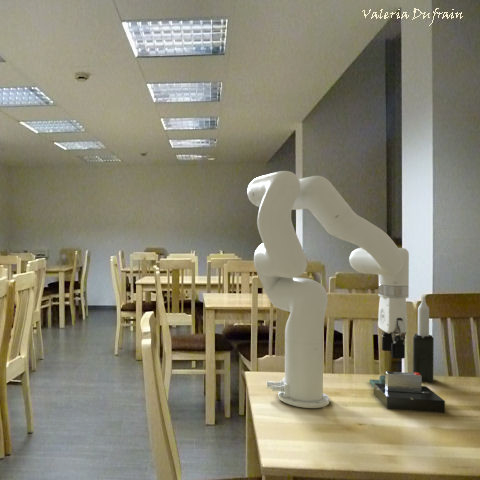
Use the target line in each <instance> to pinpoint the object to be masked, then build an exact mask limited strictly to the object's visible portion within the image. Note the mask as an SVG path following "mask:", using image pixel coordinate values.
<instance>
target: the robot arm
mask: <svg viewBox="0 0 480 480" xmlns="http://www.w3.org/2000/svg"><path fill="white" fill-rule="evenodd" d="M246 193H247V198H248V200H249V201H250V203H251V204H252V205H253V206H256V207H257V208H259V209H258V213H257V219H256V224H257V230H258V233H259V236H260V238H261V242H262V243H261V244H259V245H258V247H256V249H255V251H254V255H253V265H254V269H255V272H256V274H257V276H258V278H259V281H260V283H261V285H262V287H263V290H264V292H265V294H266V296H267V298H268V300H269V302H270V303H271V304H272V305H273V306H274V307H275V308H277V309H279V310H282V311H285V312H289V315H288V318H287V320H286V324H285V327H284V377H282V380H278V381H271V380H266V389H269V390H271V392H278V399H279V400H280V401H281V402H283V403H285V404H287V405H289V406H292V407H297V408H303V409H320V408H325V407H326V406H328V405H329V404H330V397H329V396H328V394H326V393H324V329H325V328H324V327H325V326H324V325H325V318H326V312H327V308H328V304H329V303H328V301H329V300H328V299H329V297H328V293H327V290H326V288H325V287H324V285H322V284H321V283H320V282H319V281H316V280H314V279H311V278H305V277H300V276H302V275H304V273H305V272H306V271H307V267H308V259H307V256H306V253H305V251H304V249H303V247H302V244H301V241H300V240H299V239H300V238H299V237H298V235H297V232H296V229H295V227H294V224H293V220H292V210H295V211H298V210H308V211H309V212H310V213H311V215H313V217H314V218H315V219H316V220H317V221H318V223H319V224H320V225H321V226H322V228H324V230H325V231H326V232H327V233H328V234H329V235H331V236H332V237H334V238H337V239H339V240H341V241H344V242H348V243H351V244H353V245H356V246H357V248H354V250H353V251H351V253H350V255H349V258H348V260H349V265H350V267H351V268H352V269H353V270H354V271H356V272H358V273H360V274H366V275H377V276H378V292H377V293H378V294H377V295H378V297H379V303H378V314H377V315H378V316H377V327H378V328H379V329H380V330H382V331H381V350H382V352H383V351H384V352H391V358H392V359H405V358H406V335H407V332H408V309H407V299H409V295H410V292H409V291H410V289H409V288H410V287H409V283H410V282H409V281H410V269H409V268H410V267H409V266H410V254H409V250H408V249H407V248H404V247H398V245H397V244H396V243H395V242H394V240H393V239H392V238H391V236H389V234H388V233H386V232H385V231H384V230H383V229H381V228H380V227H379V226H377V225H375V224H374V223H372V222H370V221H369V220H367V219H366V218H364V217H362V216H360V215H358V214H357V213H356V212H355V211H354V210H353V209H352V207H351V206H350V205H349V204H348V203H347V201H346V200H345V198H344V197H343V196H342V195H341V194H340V192H339V191H338V190H337V189H336V187H335V186H334V185H333V184H332V182H330V180H329V179H328V178H326V177H324V176H322V175H311V176H308V177H307V176H306V177H302V178H299V177H298V176H297V175H296V174H295V173H294V172H293V171H290V170H280V171H275V172H272V173H268V174H264V175H261V176H258V177H256V178H254V179H252V180H251V181H250V183H249V184H248V185H247V191H246Z"/></svg>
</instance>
